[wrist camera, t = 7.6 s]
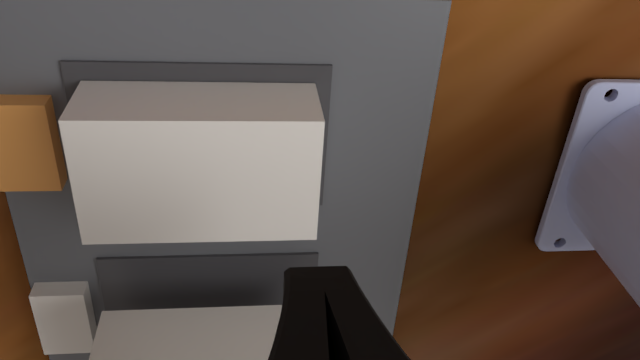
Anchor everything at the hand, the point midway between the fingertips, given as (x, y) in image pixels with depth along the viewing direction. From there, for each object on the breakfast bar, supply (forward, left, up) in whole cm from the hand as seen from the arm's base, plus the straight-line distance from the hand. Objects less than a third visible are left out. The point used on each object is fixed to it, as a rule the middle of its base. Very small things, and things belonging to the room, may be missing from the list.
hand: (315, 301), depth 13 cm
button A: (+3, +1, -9) cm, 9 cm away
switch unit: (+2, +9, -10) cm, 14 cm away
